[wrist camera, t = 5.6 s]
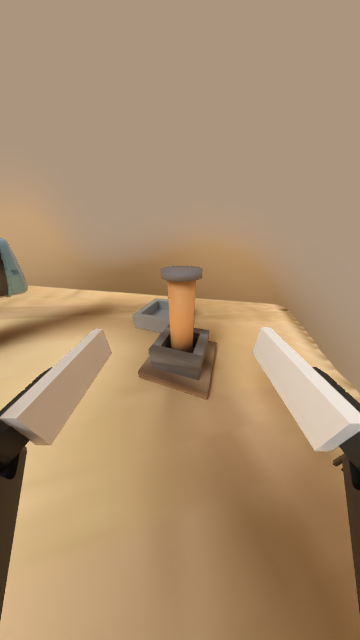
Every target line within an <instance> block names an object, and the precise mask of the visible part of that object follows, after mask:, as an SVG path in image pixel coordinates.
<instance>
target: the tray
mask: <svg viewBox="0 0 360 640" xmlns="http://www.w3.org/2000/svg"><path fill="white" fill-rule="evenodd" d="M133 319H134V323H135V328H140V329H145V330H150V331H155V332H160V333H162V332H163V331H164V330H165V328H166V327H167V326H168V325H169V324H170V318H169V300H165V299H154V300H153V301H152V302H150V303H149V304H147V305H146V306H145V307H143V308H142V309H141V310H139V311H138V312H136V313H135V314H134V315H133Z"/></svg>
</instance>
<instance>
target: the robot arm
mask: <svg viewBox="0 0 360 640" xmlns="http://www.w3.org/2000/svg"><path fill="white" fill-rule="evenodd" d="M27 290H28V285H27V282H26V280H25V277H24V275H23V272H22V270H21V268H20V266H19V264H18V262H17V259H16V257H15V256H14V254H13V251H12V250H11V248H10V246H9V244H8V243H7V242H6V241H5V240H4V239H2V238H0V298H1V297H10V296H12V295H17V294H22V293H25V292H26V291H27ZM111 354H112V352H111V350H110V347H109V344H108V342H107V339H106V337H105V334H104V331H103V329H93V330H92V331H91V332H90V333H89V334H88V335H87V336H86V337H85V338H84V339H83V340H81V341H80V342H79V343H78V344H77V345H76V346H75V347H74V348H73V349H72V350H71V351H70V352H69V353H68V354H67V355H65V356H64V357H63V358H62V359H61V360H60V361H59V362H58V363H57V364H56V365H55V366H54V367H51V368H49V369H48V370H46V371H45V372H43V373H42V374H40V375H39V376H38V377H37V378H36V379H35V380H34V381H33V382H32V383H30V384H29V385H28V386H27V387H26V388H25V390H23V391H22V392H21V393H19V394H18V395H17V396H16V397H15V398H14V399H13V400H12V401H11V402H9V403H8V404H7V405H6V406H5V407H4V408H3V409H2V410H1V411H0V619H1V613H2V607H3V600H4V594H5V588H6V581H7V575H8V568H9V562H10V556H11V549H12V543H13V537H14V530H15V524H16V518H17V511H18V505H19V498H20V492H21V486H22V479H23V473H24V467H25V460H26V454H27V449H26V447H25V445H26V444H27V443H28V441H29V440H30V441H31V442H33V443H34V444H36V445H51V444H52V443H53V441H54V440H55V438H56V437H57V435H58V434H59V432H60V431H61V429H62V427H63V426H64V424H65V423H66V421H67V420H68V418H69V417H70V415H71V414H72V412H73V411H74V409H75V408H76V406H77V405H78V403H79V402H80V400H81V399H82V397H83V396H84V394H85V393H86V391H87V390H88V388H89V387H90V385H91V384H92V382H93V381H94V379H95V378H96V376H97V375H98V373H99V372H100V370H101V369H102V367H103V366H104V364H105V363H106V361H107V360H108V358H109V357H110V355H111ZM253 355H254V356H255V358H256V359H257V361H258V362H259V364H260V366H261V367H262V369H263V370H264V372H265V373H266V375H267V377H268V378H269V380H270V381H271V383H272V384H273V386H274V388H275V389H276V391H277V392H278V394H279V395H280V397H281V399H282V400H283V402H284V403H285V405H286V406H287V408H288V410H289V411H290V413H291V414H292V416H293V417H294V419H295V421H296V422H297V424H298V425H299V427H300V428H301V430H302V432H303V433H304V435H305V436H306V438H307V439H308V441H309V443H310V444H311V446H312V447H313V449H314V450H315V451H333V450H334V449H336V448H337V447H340V448H341V449H342V451H343V452H344V454H343V455H341V456H340V457H338V458H336V459H335V460H334V461H333V465H334V466H338V465H340V464H343V468H342V469H341V470H342V471H343V472H344V481H345V490H346V499H347V507H348V516H349V525H350V533H351V542H352V551H353V559H354V568H355V577H356V585H357V594H358V603H359V612H360V403H359V402H357V401H356V400H355V399H354V398H353V397H352V396H351V395H350V394H349V393H347V392H345V390H344V389H343V388H342V387H341V386H340V385H337V383H336V382H335V381H334V380H333V379H332V378H331V377H330V376H329V375H328V374H326V373H324V372H323V371H321V370H320V369H318V368H316V367H311V366H310V365H309V364H308V363H307V362H306V361H305V360H304V359H303V358H302V357H301V356H300V355H299V354H298V353H297V352H296V351H294V350H293V349H292V348H291V347H290V346H289V345H288V344H287V343H286V342H285V341H284V340H283V339H282V338H281V337H280V336H279V335H278V334H277V333H276V332H275V331H274V330H272V329H271V328H270V327H265V328H260V331H259V334H258V337H257V340H256V343H255V346H254V349H253Z"/></svg>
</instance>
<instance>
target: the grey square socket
mask: <svg viewBox="0 0 360 640" xmlns="http://www.w3.org/2000/svg"><path fill="white" fill-rule="evenodd" d="M208 337H209V330H203V329H197V328H193V349H192V353H188V352H184V351H180V350H176V349H171V335H170V324H169V325H168V326H167V327H166V328H165V330H164V331H163V332H162V333H161V335H160V336H159V337H158V338H157V340H156V341H155V342H154V344H153V345H152V346H151V347H150V349H149V350H148V351H149V357H148V359H147V360H146V361H145V363H144V364H143V365H142V367H141V368H140V369H139V371H138V374H139V377H140V378H143V379H146V380H149V381H152V382H155V383H158V384H161V385H164V386H167V387H170V388H173V389H176V390H179V391H182V392H185V393H188V394H191V395H195V396H198V397H201V398H204V399H207V396H208V390H209V384H210V379H211V373H212V367H213V361H214V355H215V349H216V343H215V342H210V341H208Z"/></svg>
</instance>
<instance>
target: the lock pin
mask: <svg viewBox="0 0 360 640" xmlns="http://www.w3.org/2000/svg"><path fill="white" fill-rule="evenodd" d="M161 278H162V279H164V280H167V283H168V300H169V318H170V335H171V349H176V350H180V351H184V352H188V353H192V349H193V328H194V308H195V288H196V280H199V279H201V278H202V268H200V267H193V266H172V267H165V268H162V269H161Z"/></svg>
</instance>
